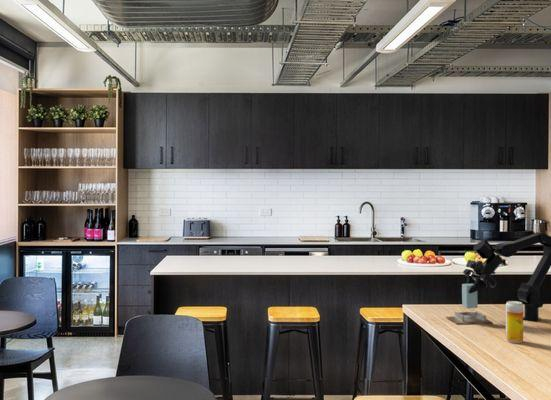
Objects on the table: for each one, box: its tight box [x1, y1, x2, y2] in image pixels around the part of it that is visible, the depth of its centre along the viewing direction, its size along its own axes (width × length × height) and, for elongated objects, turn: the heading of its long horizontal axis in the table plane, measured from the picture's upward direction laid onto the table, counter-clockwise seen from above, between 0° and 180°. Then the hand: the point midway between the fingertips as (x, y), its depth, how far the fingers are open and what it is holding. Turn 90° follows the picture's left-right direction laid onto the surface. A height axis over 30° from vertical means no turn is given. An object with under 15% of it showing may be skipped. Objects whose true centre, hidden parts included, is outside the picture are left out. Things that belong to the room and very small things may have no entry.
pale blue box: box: [461, 283, 479, 309], centre depth 231 cm, size 6×4×10 cm, turn 99°
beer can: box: [505, 300, 524, 344], centre depth 201 cm, size 6×6×15 cm
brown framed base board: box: [445, 311, 494, 326], centre depth 234 cm, size 16×12×3 cm
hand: (466, 291), depth 231 cm, fingers closed on pale blue box, 4 cm apart
